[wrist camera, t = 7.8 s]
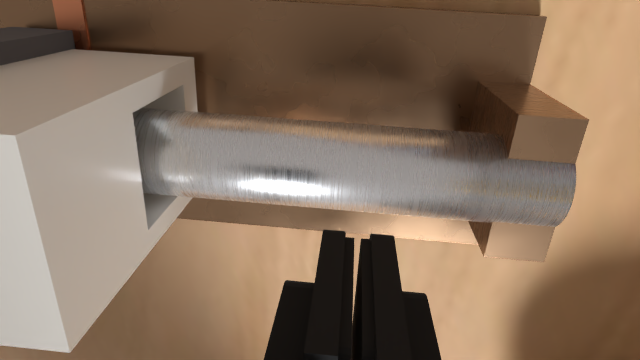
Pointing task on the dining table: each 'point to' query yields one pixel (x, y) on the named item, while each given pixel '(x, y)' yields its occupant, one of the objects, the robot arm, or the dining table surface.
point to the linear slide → (346, 116)
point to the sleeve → (77, 186)
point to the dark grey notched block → (32, 43)
